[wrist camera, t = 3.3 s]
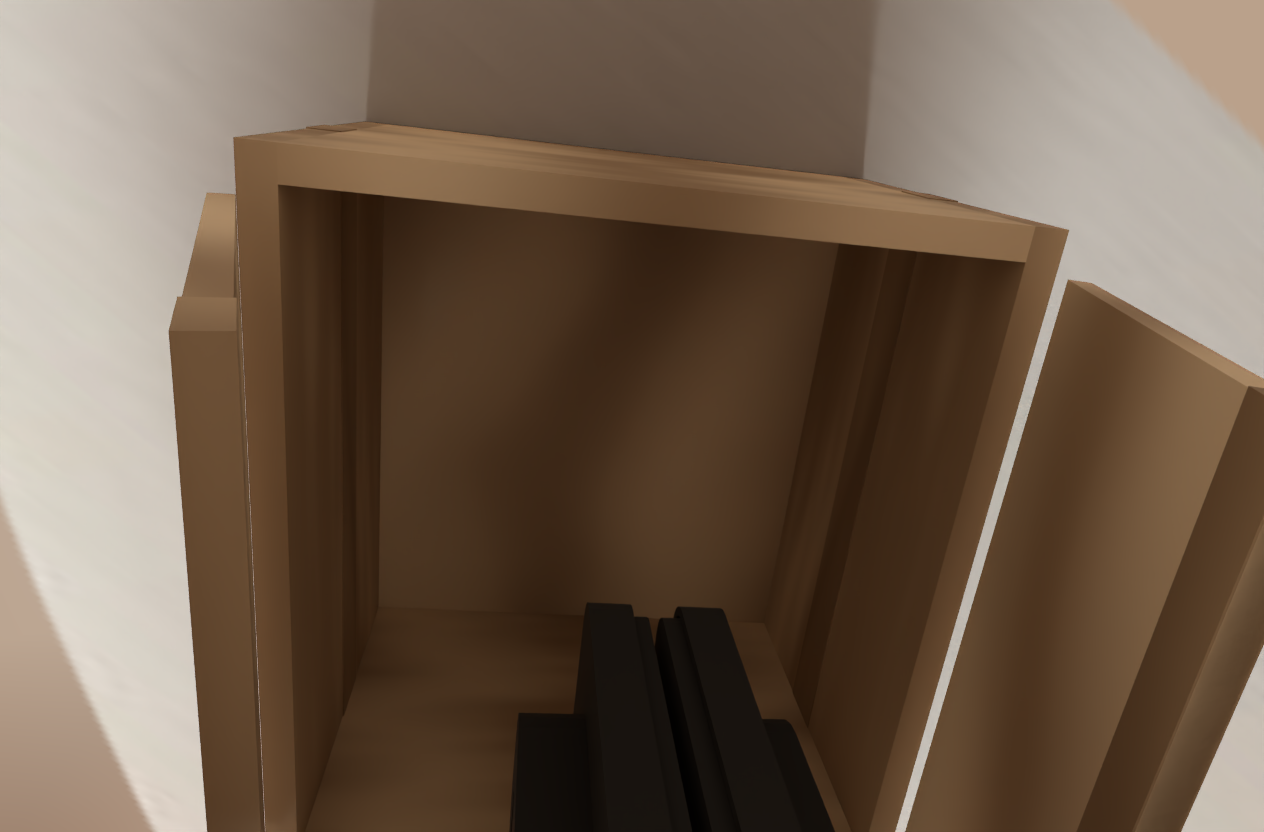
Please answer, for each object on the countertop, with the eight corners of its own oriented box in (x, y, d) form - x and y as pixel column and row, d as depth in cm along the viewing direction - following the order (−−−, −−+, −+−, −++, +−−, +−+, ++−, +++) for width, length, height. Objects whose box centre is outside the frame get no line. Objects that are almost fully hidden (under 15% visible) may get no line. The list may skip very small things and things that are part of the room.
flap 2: (929, 1319, 9) (960, 1330, 9) (1302, 418, 6) (1360, 427, 6) (890, 878, 15) (909, 884, 15) (1066, 278, 11) (1093, 282, 11)
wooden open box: (864, 178, 19) (1070, 228, 12) (773, 626, 23) (882, 877, 16) (363, 120, 18) (231, 134, 10) (361, 610, 22) (266, 876, 14)
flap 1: (236, 331, 5) (169, 331, 5) (287, 1367, 8) (249, 1383, 8) (237, 192, 10) (205, 190, 10) (268, 878, 14) (245, 883, 13)
